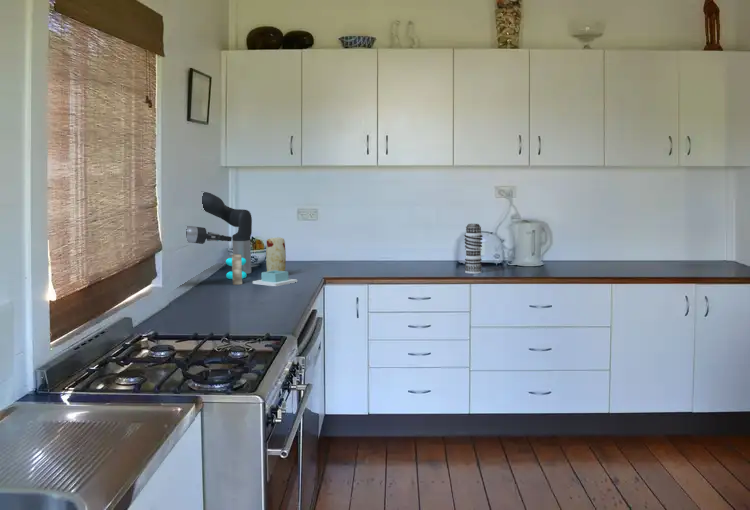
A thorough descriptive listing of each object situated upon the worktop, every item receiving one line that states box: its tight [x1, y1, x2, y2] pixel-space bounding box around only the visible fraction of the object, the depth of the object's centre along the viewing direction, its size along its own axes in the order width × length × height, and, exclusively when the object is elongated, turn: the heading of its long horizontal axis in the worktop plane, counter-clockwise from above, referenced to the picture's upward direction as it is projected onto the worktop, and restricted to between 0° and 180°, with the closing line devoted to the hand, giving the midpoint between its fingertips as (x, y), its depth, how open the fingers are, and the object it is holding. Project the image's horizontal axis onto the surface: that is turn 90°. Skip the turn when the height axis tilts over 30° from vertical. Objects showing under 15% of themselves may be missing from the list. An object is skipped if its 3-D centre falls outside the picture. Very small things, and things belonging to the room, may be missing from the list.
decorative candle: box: [464, 223, 483, 274], centre depth 378 cm, size 9×9×25 cm
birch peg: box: [231, 253, 243, 286], centre depth 348 cm, size 4×4×14 cm
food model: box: [265, 236, 287, 272], centre depth 370 cm, size 10×7×20 cm
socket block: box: [252, 270, 298, 287], centre depth 351 cm, size 15×15×5 cm
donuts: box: [225, 257, 247, 280], centre depth 367 cm, size 10×10×10 cm
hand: (228, 238), depth 342 cm, fingers open, 8 cm apart
